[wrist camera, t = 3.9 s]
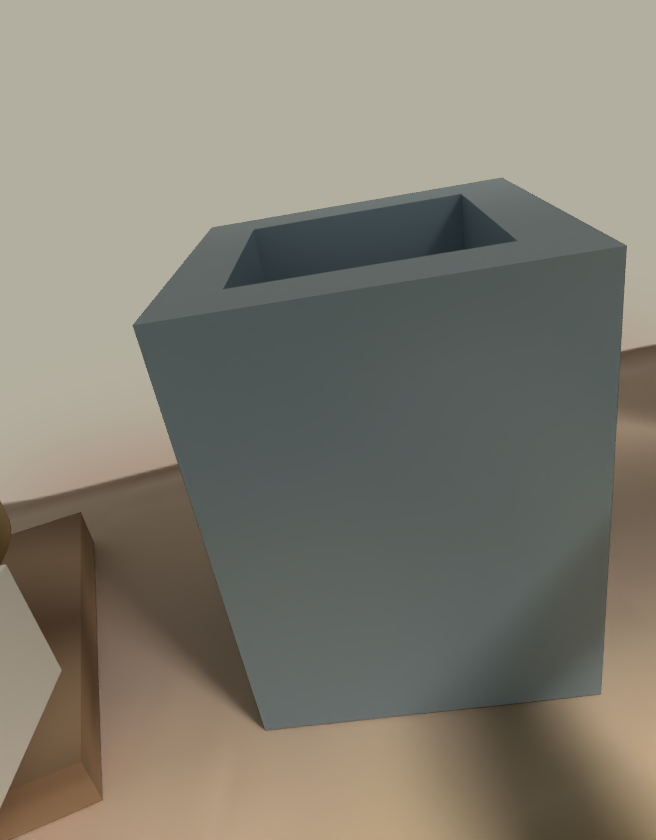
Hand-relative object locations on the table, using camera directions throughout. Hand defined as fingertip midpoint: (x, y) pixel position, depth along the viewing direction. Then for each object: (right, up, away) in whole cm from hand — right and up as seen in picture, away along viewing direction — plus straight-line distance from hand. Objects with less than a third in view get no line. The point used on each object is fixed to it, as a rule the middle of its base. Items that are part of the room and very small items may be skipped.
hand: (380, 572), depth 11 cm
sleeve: (+2, -3, +8) cm, 9 cm away
